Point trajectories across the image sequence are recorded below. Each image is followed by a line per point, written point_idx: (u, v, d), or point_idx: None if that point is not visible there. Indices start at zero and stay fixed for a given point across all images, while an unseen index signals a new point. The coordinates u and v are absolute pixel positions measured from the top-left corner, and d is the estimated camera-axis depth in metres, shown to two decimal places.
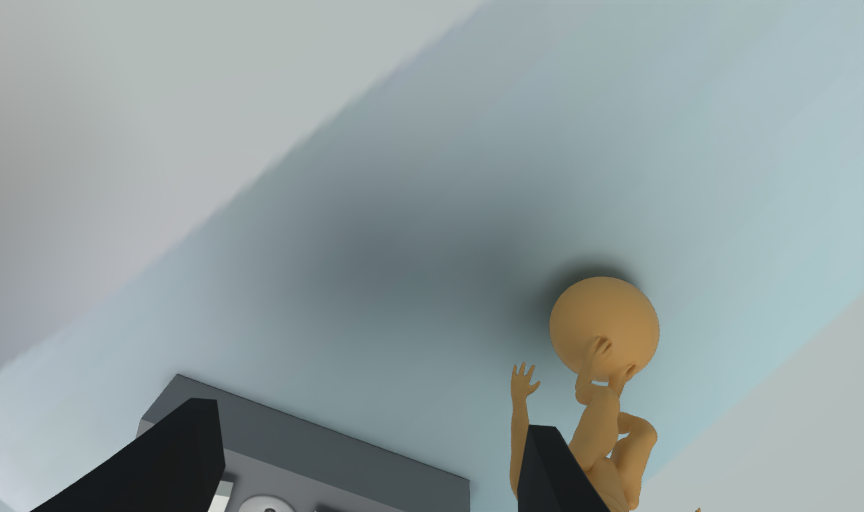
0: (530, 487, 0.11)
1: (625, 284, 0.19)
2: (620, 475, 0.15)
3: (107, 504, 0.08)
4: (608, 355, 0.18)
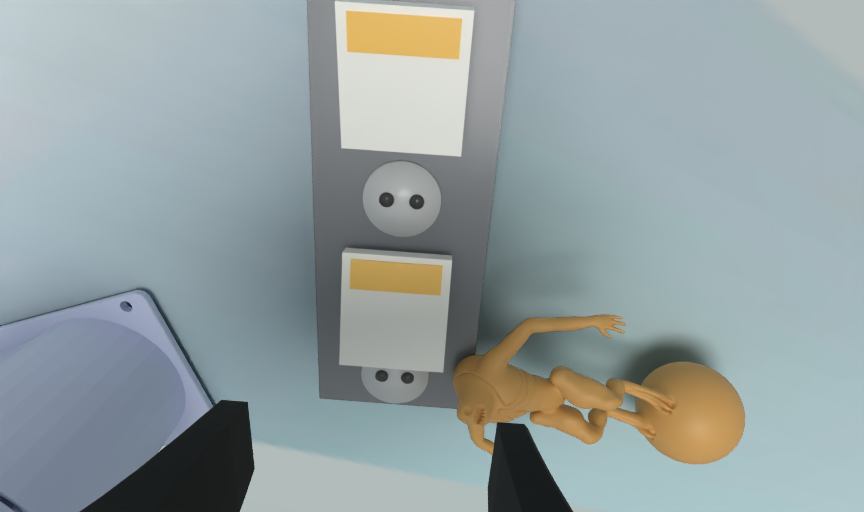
0: (497, 484, 0.11)
1: (737, 431, 0.19)
2: (552, 409, 0.20)
3: (150, 508, 0.08)
4: (656, 410, 0.20)
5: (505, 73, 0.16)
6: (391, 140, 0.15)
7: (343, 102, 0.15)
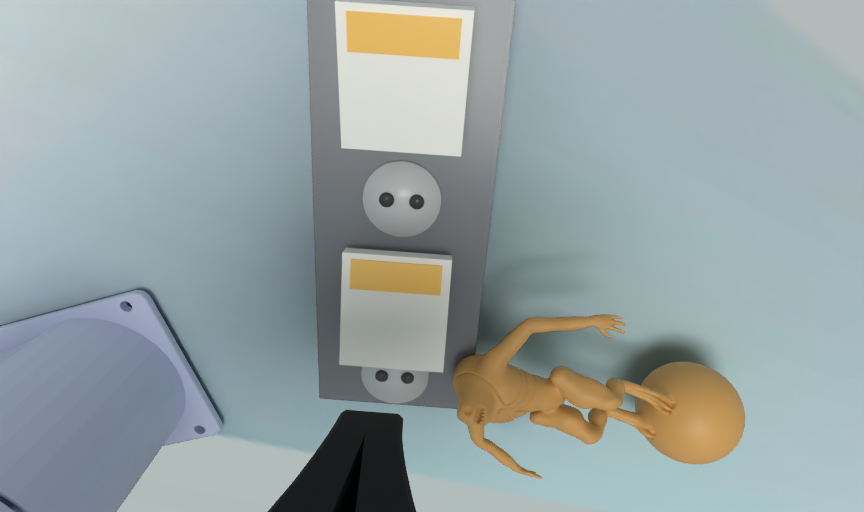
0: None
1: (737, 431, 0.19)
2: (552, 409, 0.20)
3: None
4: (656, 410, 0.20)
5: (505, 73, 0.16)
6: (391, 140, 0.15)
7: (343, 102, 0.15)
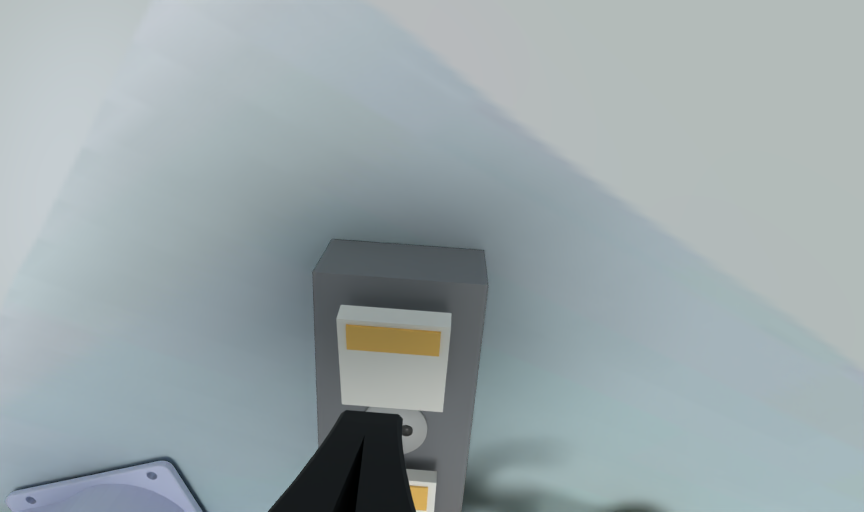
0: None
1: None
2: None
3: None
4: None
5: (480, 340, 0.18)
6: (383, 401, 0.18)
7: (343, 377, 0.18)
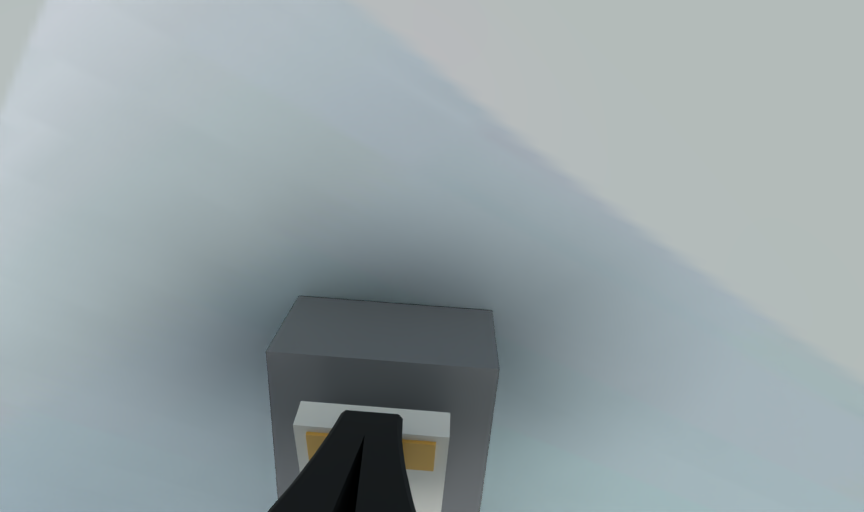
0: None
1: None
2: None
3: None
4: None
5: (488, 436, 0.14)
6: None
7: None
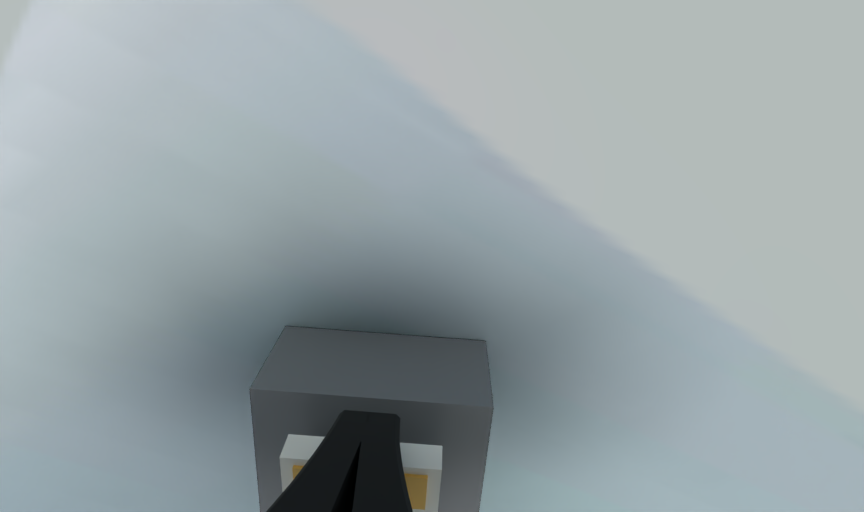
0: None
1: None
2: None
3: None
4: None
5: (482, 475, 0.14)
6: None
7: None
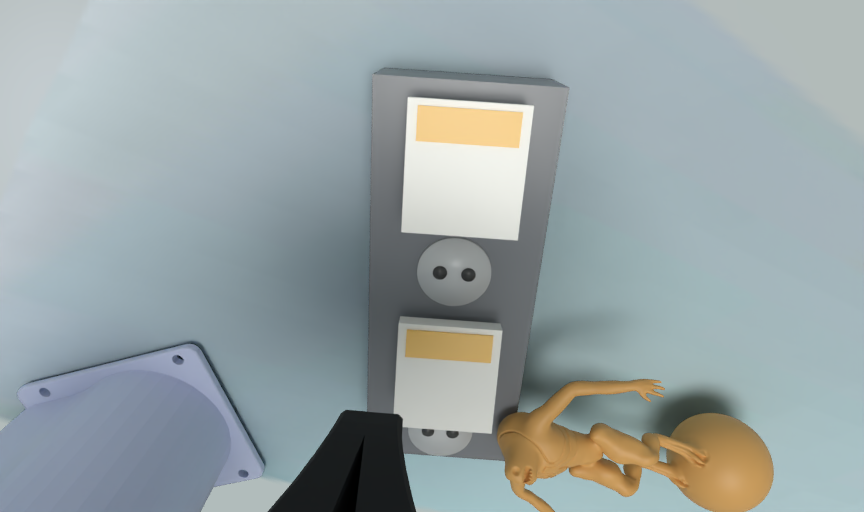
0: None
1: (767, 484, 0.20)
2: (591, 464, 0.21)
3: None
4: (689, 463, 0.21)
5: (556, 160, 0.17)
6: (450, 224, 0.16)
7: (407, 188, 0.16)
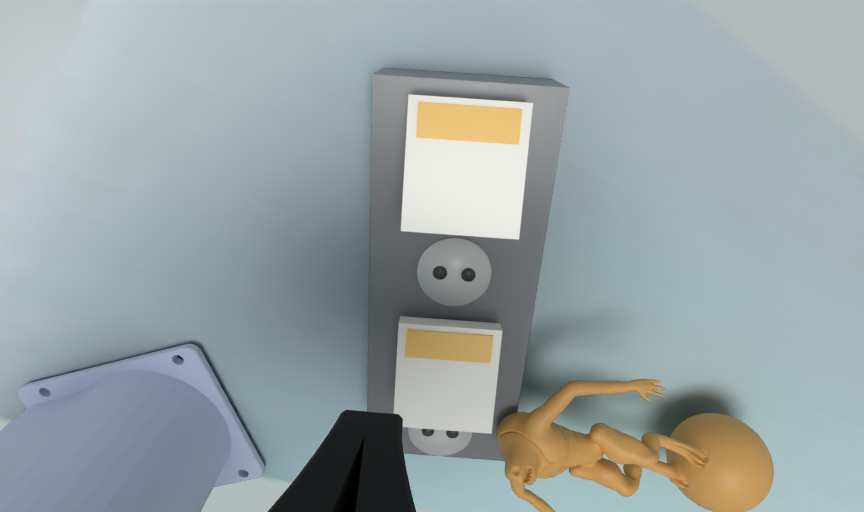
0: None
1: (767, 484, 0.20)
2: (591, 464, 0.21)
3: None
4: (689, 463, 0.21)
5: (556, 160, 0.17)
6: (451, 222, 0.16)
7: (407, 185, 0.15)
